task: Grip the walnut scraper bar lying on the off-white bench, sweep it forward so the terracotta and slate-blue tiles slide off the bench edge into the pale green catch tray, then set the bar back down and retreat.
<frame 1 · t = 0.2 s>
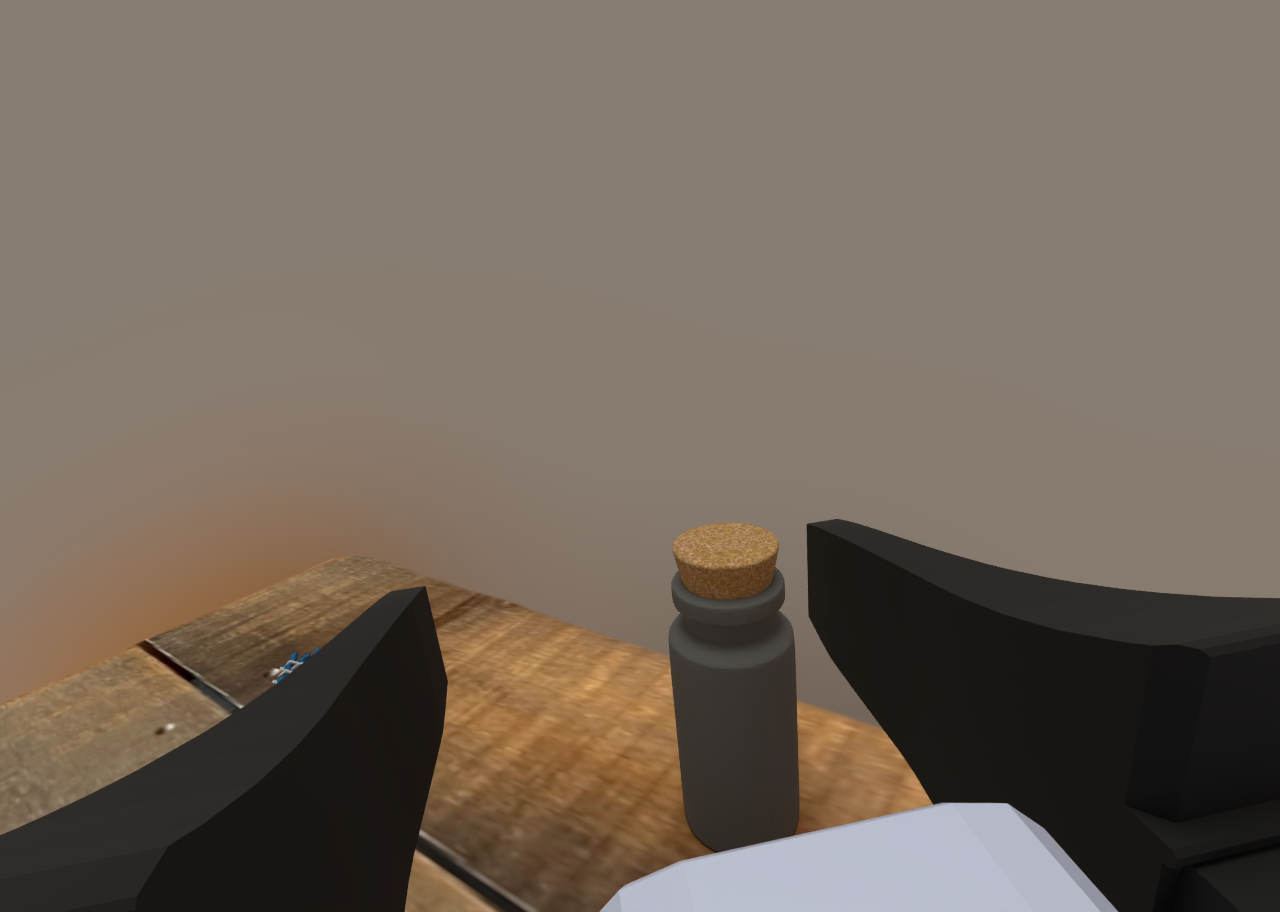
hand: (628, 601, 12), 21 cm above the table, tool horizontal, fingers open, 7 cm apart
woven mat: (346, 706, 45), on the table
bottle: (741, 812, 33), on the table
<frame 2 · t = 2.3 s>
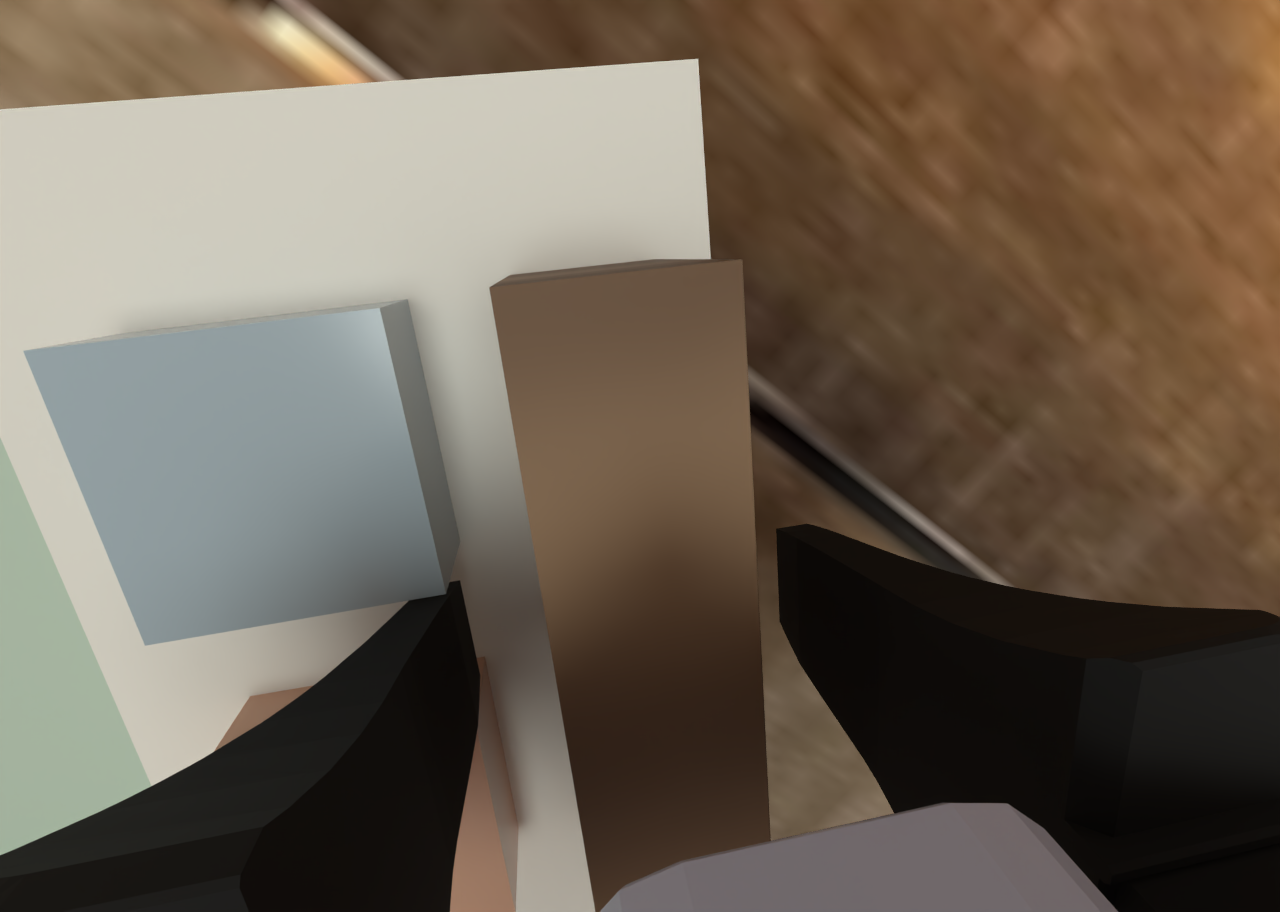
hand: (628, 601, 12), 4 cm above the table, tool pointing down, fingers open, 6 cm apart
bench: (451, 542, 15), on the table
tile b: (304, 446, 11), point 3 cm above the table, touching bench
tile a: (394, 766, 13), point 3 cm above the table, touching bench
scraper bar: (621, 576, 13), point 3 cm above the table, touching bench
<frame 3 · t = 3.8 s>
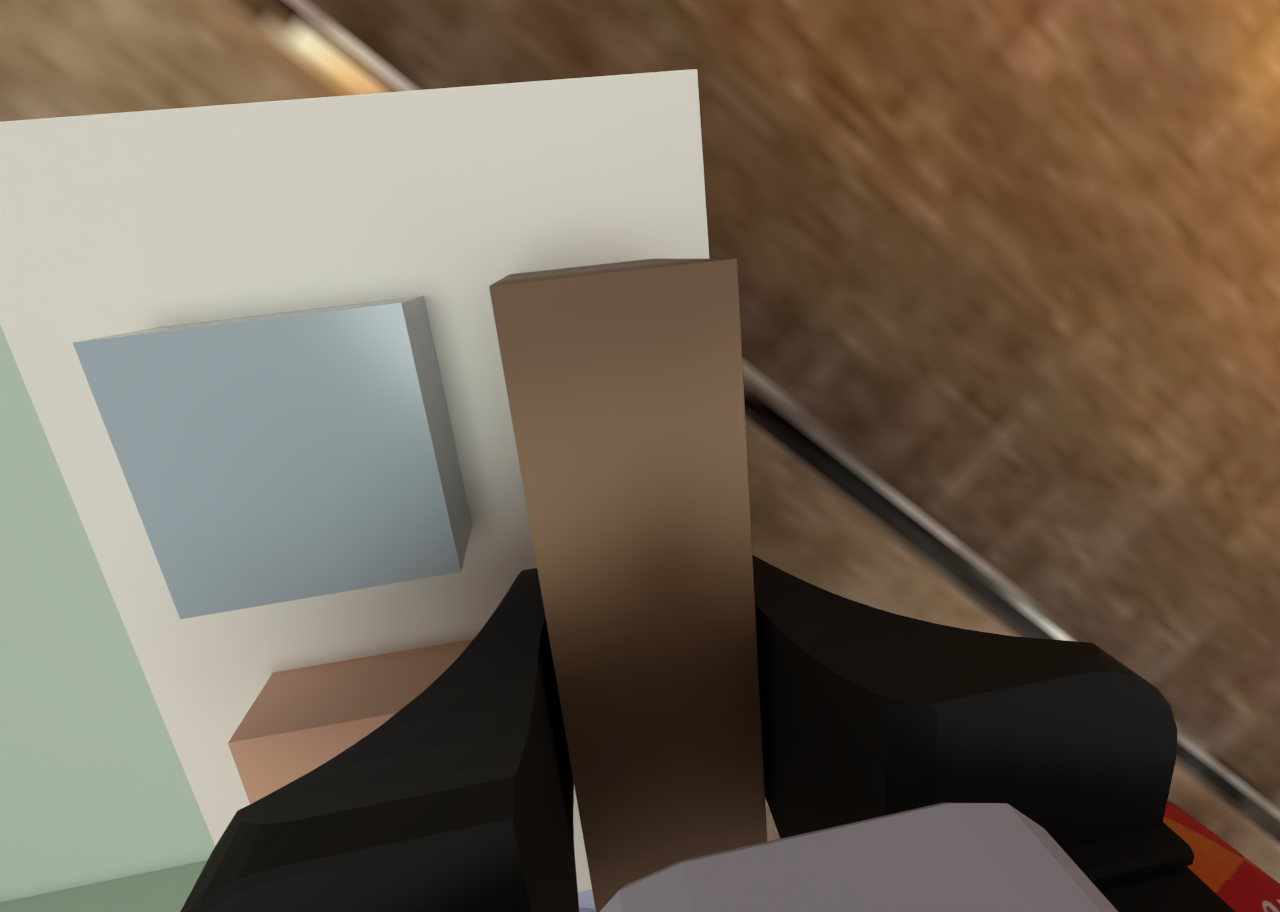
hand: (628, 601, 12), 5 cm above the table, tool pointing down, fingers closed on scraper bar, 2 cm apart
bench: (461, 529, 16), on the table
tile b: (326, 434, 12), point 3 cm above the table, touching bench
tile a: (408, 740, 14), point 3 cm above the table, touching bench
scraper bar: (620, 572, 13), point 4 cm above the table, touching gripper
paper cup: (1117, 851, 24), on the table
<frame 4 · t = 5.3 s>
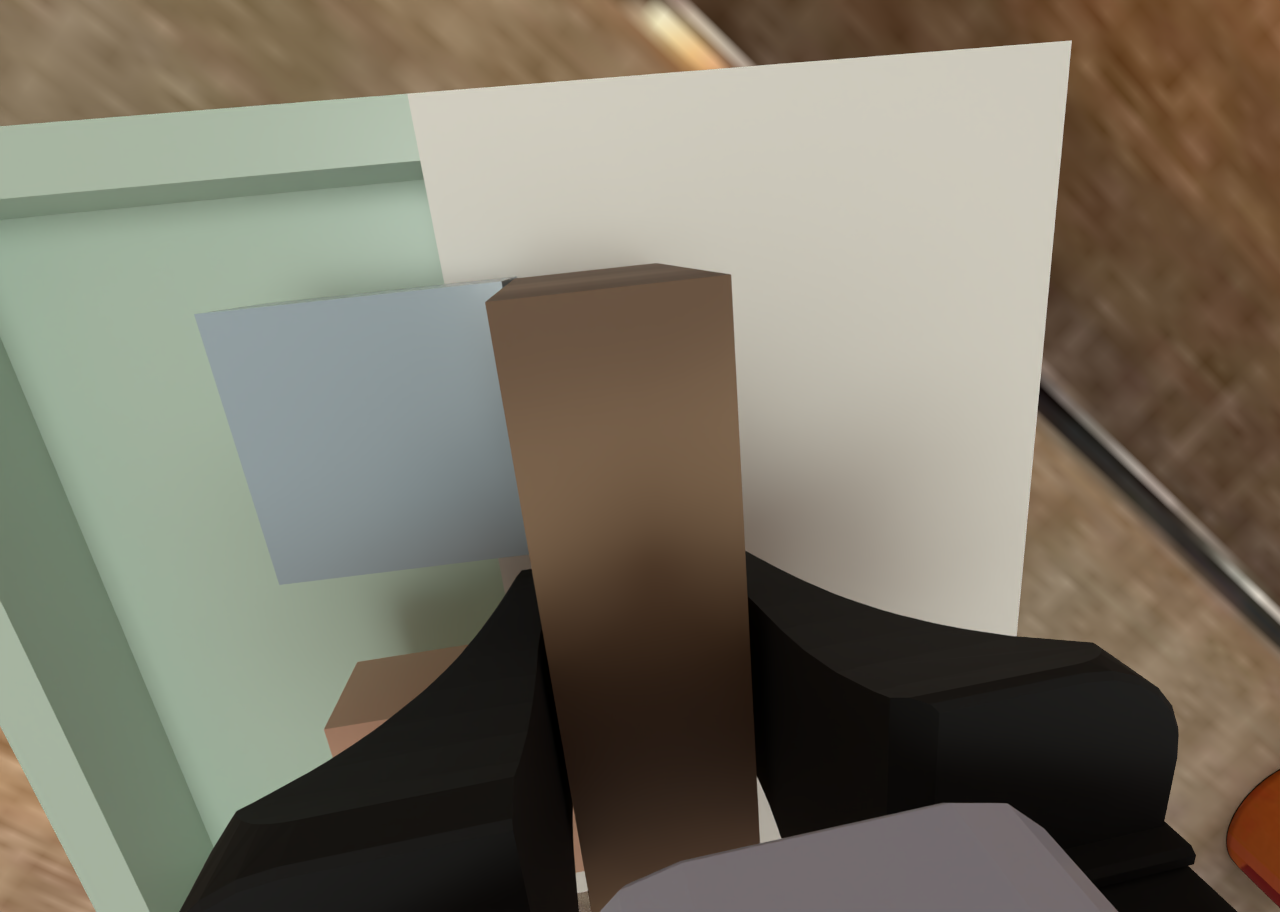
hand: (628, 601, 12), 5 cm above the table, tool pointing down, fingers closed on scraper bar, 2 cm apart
bench: (738, 487, 17), on the table
catch tray: (301, 556, 15), on the table
tile b: (416, 412, 12), point 3 cm above the table
tile a: (484, 730, 14), point 3 cm above the table
scraper bar: (623, 572, 13), point 3 cm above the table, touching gripper
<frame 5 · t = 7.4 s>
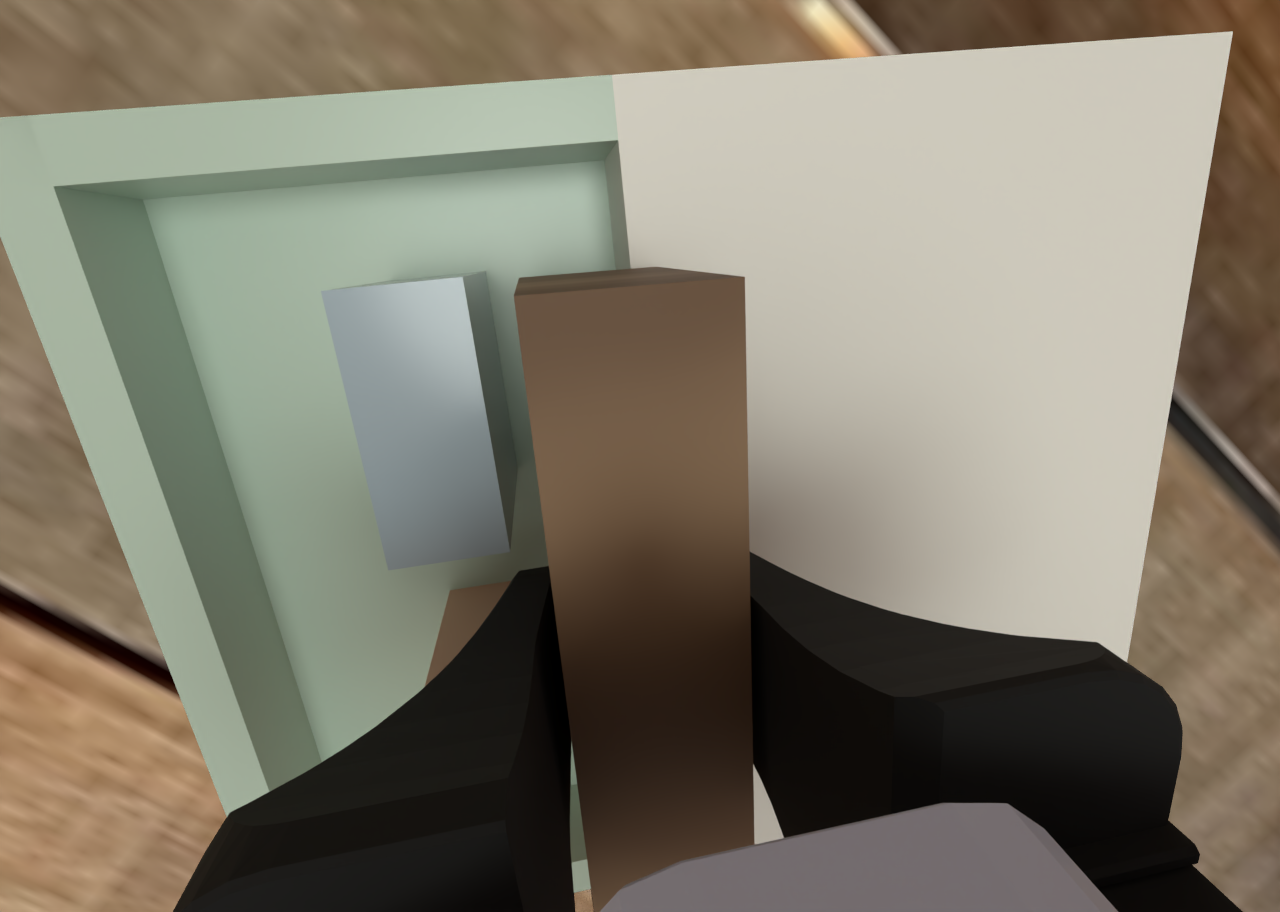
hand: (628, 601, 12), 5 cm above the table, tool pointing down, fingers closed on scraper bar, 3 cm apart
bench: (857, 469, 17), on the table
catch tray: (439, 531, 16), on the table
tile b: (496, 395, 12), point 3 cm above the table, tilted 90°, touching catch tray
tile a: (544, 712, 14), point 3 cm above the table, tilted 90°, touching catch tray
scraper bar: (616, 567, 13), point 3 cm above the table, touching gripper
when the fingers open (4 cm above the table, at t = 9.0 s): scraper bar stays where it is, resting on bench.
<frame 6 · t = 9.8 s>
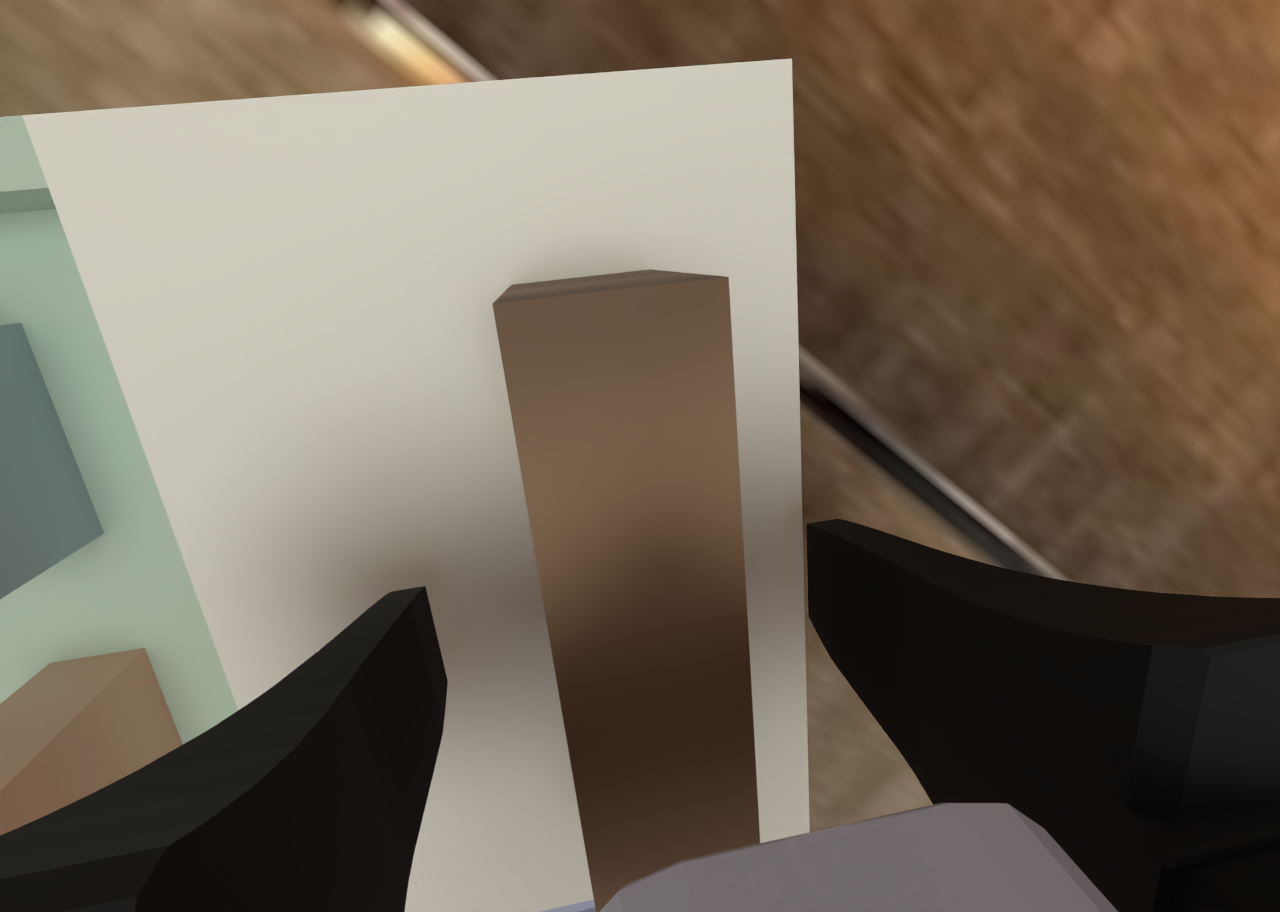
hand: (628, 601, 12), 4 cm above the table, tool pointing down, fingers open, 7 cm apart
bench: (525, 524, 16), on the table
catch tray: (42, 598, 14), on the table
tile a: (117, 802, 13), point 3 cm above the table, tilted 90°, touching catch tray
scraper bar: (618, 574, 13), point 3 cm above the table, touching bench
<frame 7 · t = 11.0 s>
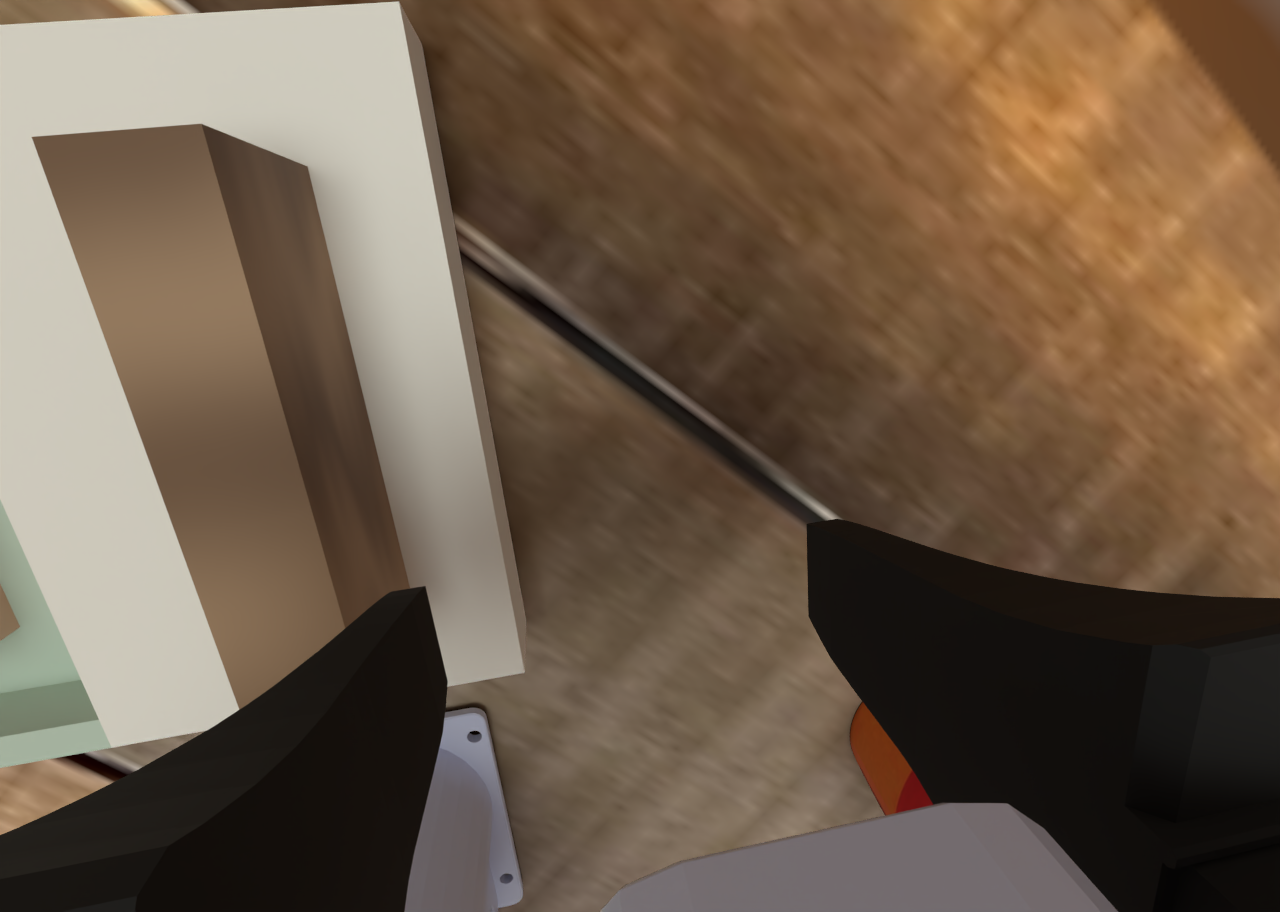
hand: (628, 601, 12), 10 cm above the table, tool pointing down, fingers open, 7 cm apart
bench: (281, 398, 19), on the table
scraper bar: (318, 418, 17), point 3 cm above the table, touching bench
paper cup: (907, 719, 27), on the table
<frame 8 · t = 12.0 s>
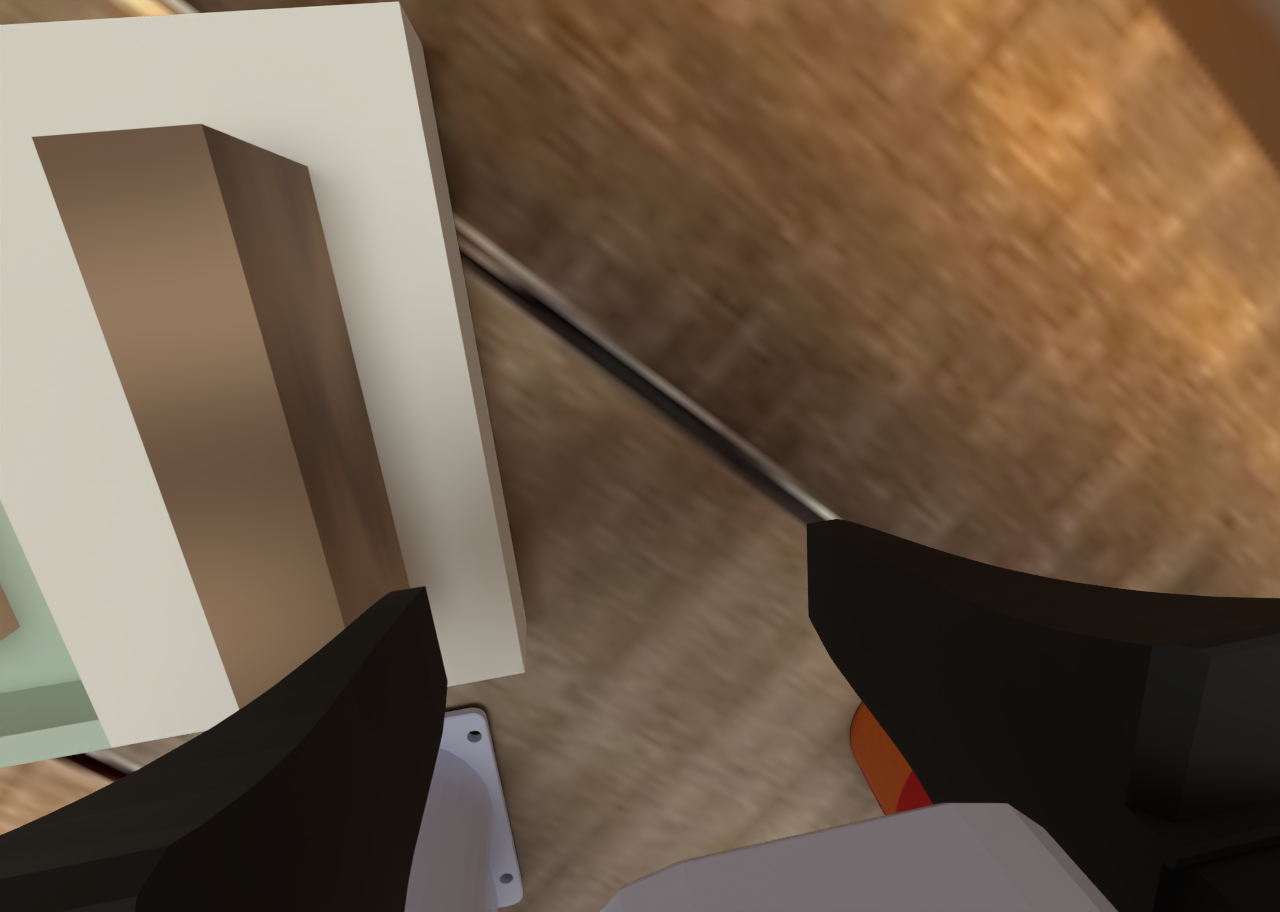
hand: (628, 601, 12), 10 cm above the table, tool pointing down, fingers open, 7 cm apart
bench: (281, 398, 19), on the table
scraper bar: (318, 418, 17), point 3 cm above the table, touching bench
paper cup: (907, 719, 27), on the table
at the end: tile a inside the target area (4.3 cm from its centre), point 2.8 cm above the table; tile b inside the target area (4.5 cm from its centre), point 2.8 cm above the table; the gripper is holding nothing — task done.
